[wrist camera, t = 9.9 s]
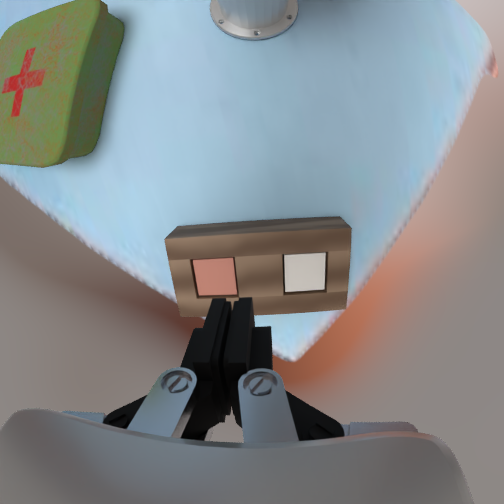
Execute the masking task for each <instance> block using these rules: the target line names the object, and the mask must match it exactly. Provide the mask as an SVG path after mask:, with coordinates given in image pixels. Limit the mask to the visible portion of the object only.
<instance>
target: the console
mask: <svg viewBox="0 0 504 504" xmlns="http://www.w3.org/2000/svg"><path fill="white" fill-rule="evenodd" d="M351 229H352V228H351V227H350V226H349V225H348V224H347V223H346V222H345V221H344V220H343V219H342V218H341V217H340V216H339V217H314V218H293V219H274V220H257V221H242V222H227V223H213V224H200V225H188V226H177V227H176V228H175V229H174V230H173V231H172V232H171V233H170V234H169V235H168V236H167V237H166V238H165V239H164V240H165V245H166V251H167V256H168V261H169V266H170V271H171V276H172V281H173V285H174V290H175V294H176V299H177V303H178V307H179V312H180V316H181V317H207V314H208V310H209V307H210V304H211V301H212V299H213V298H226V300H227V301H231V305H232V310H233V304H234V301H238V300H239V297H252V299H253V310H254V315H272V314H290V313H305V312H318V311H330V310H341V309H346V303H347V293H348V282H349V268H350V252H351ZM313 252H325V253H326V256H325V286H324V289H323V290H308V291H293V292H285V285H284V277H283V254H296V253H313ZM223 257H235V264H236V274H237V283H238V292H237V294H232V295H199V293H198V287H197V282H196V276H195V270H194V265H193V259H204V258H223Z"/></svg>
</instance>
